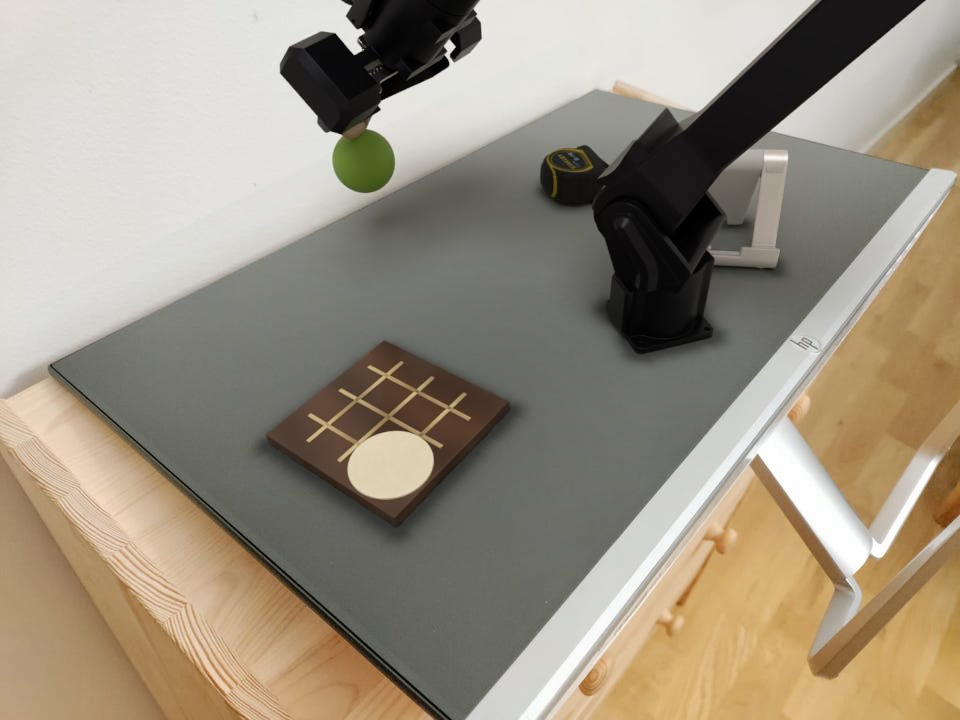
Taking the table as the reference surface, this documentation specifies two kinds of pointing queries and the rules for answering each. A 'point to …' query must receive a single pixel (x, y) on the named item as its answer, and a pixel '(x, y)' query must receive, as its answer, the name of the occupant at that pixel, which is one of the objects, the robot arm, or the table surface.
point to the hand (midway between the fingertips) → (345, 113)
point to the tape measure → (572, 174)
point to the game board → (388, 421)
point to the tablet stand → (735, 198)
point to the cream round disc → (390, 465)
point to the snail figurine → (363, 159)
